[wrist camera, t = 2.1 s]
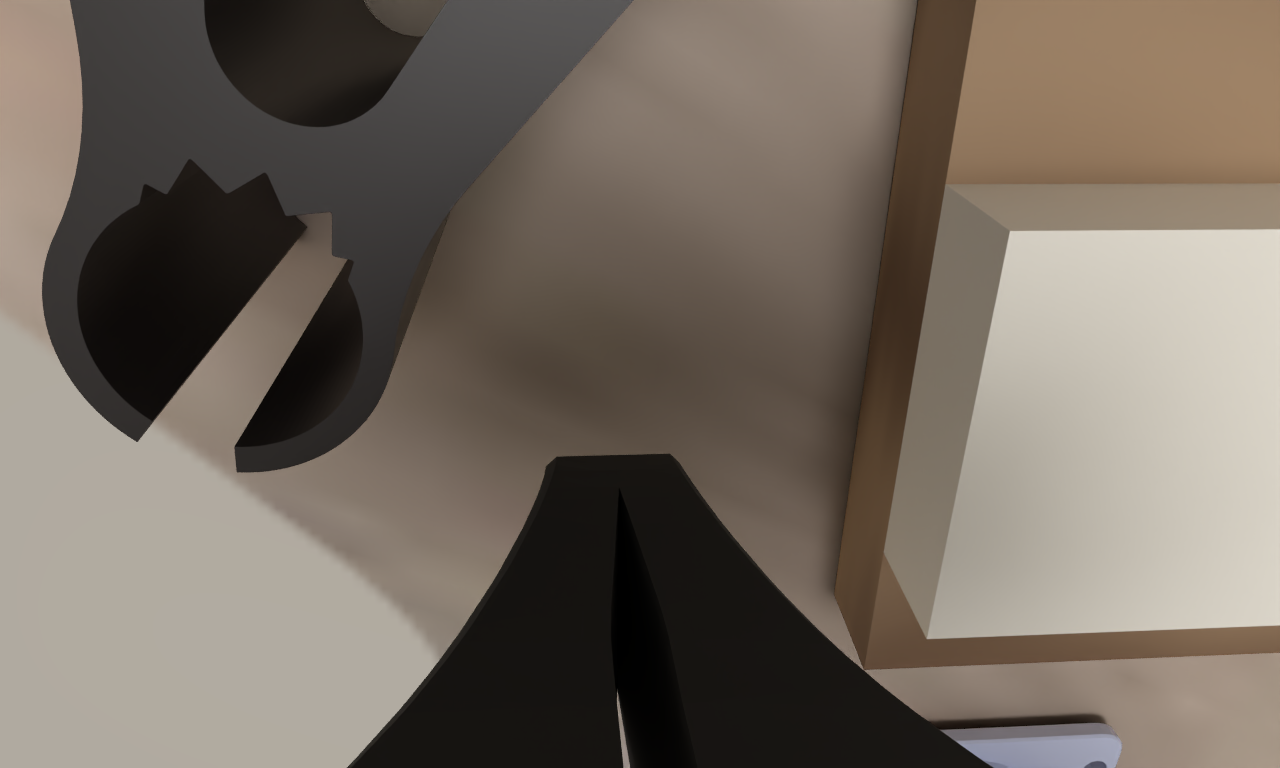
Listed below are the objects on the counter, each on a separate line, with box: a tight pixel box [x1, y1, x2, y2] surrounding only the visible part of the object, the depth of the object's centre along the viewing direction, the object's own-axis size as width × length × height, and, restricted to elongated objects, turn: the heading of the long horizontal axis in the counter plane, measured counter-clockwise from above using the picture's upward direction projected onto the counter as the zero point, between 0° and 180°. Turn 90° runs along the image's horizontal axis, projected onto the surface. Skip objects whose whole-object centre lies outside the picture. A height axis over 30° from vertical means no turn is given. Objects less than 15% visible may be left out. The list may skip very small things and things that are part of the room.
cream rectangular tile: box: [884, 184, 1280, 639], centre depth 13 cm, size 6×9×2 cm, turn 89°
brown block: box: [834, 0, 1280, 670], centre depth 15 cm, size 11×10×2 cm
